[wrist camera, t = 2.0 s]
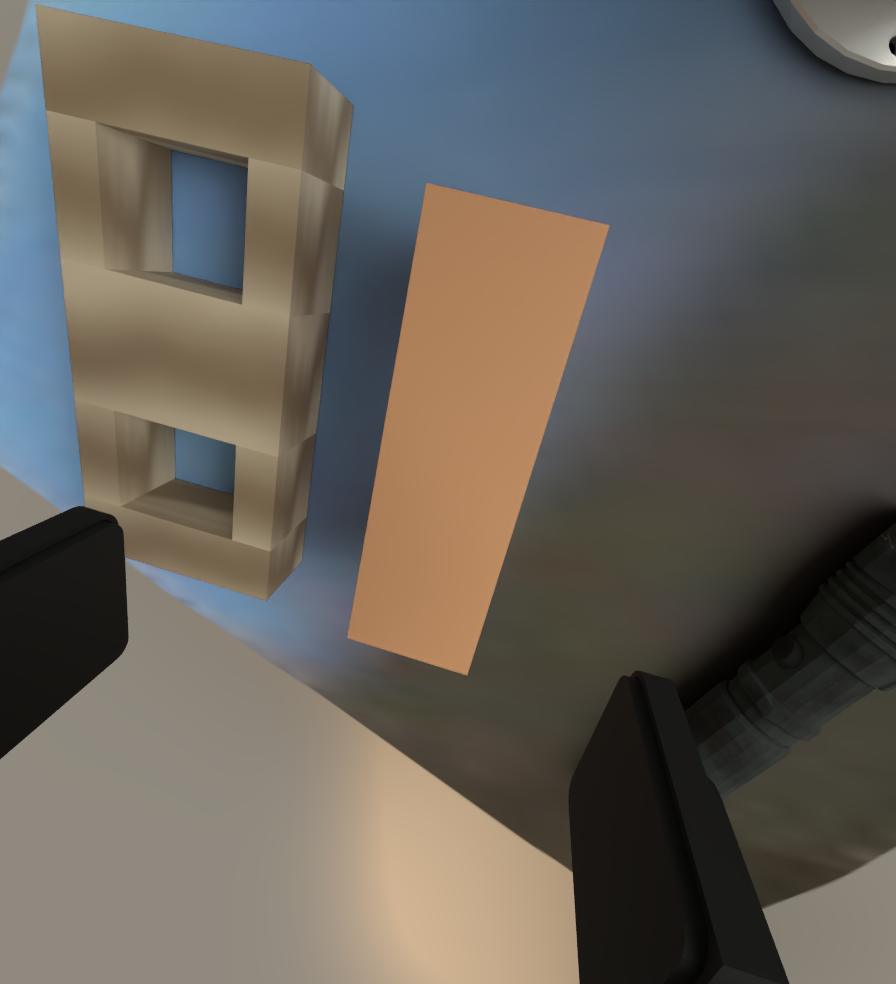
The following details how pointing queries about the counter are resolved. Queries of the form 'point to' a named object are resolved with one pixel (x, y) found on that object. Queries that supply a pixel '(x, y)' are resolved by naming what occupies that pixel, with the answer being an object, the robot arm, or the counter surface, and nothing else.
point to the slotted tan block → (193, 287)
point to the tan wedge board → (466, 415)
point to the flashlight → (804, 673)
